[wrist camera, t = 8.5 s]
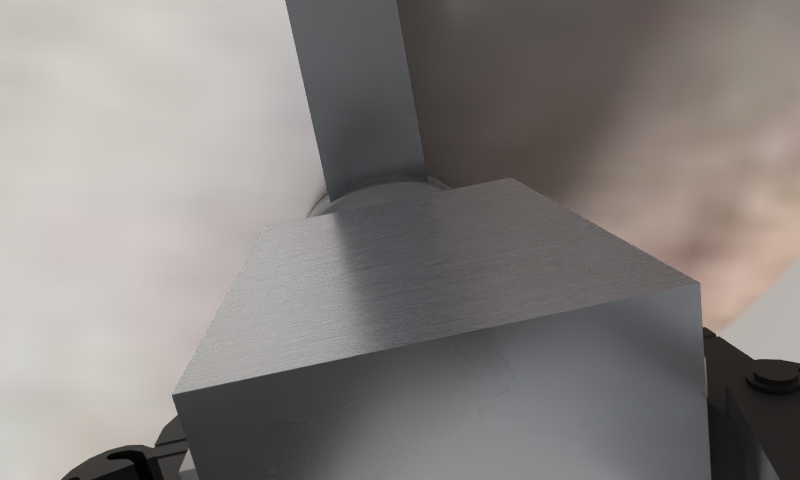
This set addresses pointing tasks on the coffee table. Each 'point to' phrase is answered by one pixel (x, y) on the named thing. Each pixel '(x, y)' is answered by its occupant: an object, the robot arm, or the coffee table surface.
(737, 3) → the coffee table surface
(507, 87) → the coffee table surface
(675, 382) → the light grey block
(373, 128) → the ratchet
